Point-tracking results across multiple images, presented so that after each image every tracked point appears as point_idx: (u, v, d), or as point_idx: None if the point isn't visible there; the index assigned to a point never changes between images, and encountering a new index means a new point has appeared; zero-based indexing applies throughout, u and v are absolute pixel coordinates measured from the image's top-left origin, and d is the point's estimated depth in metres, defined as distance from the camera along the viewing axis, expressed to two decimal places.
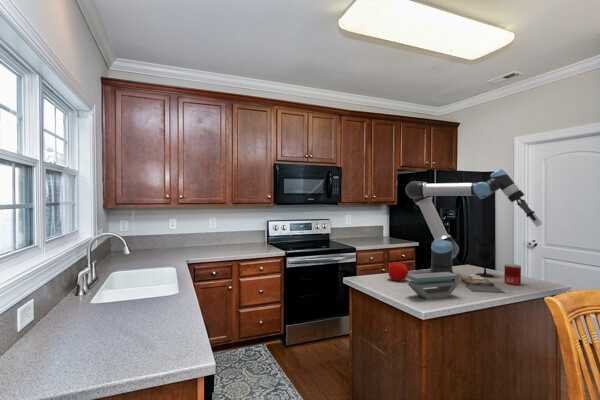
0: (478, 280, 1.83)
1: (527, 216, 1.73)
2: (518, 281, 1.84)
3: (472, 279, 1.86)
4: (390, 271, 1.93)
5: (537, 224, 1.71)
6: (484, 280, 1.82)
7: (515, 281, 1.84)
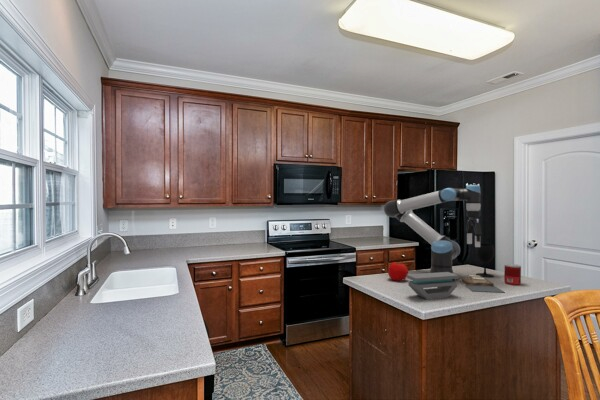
0: (478, 280, 1.83)
1: (475, 235, 1.88)
2: (518, 281, 1.84)
3: (472, 279, 1.86)
4: (390, 271, 1.93)
5: (477, 245, 1.89)
6: (484, 280, 1.82)
7: (515, 281, 1.84)
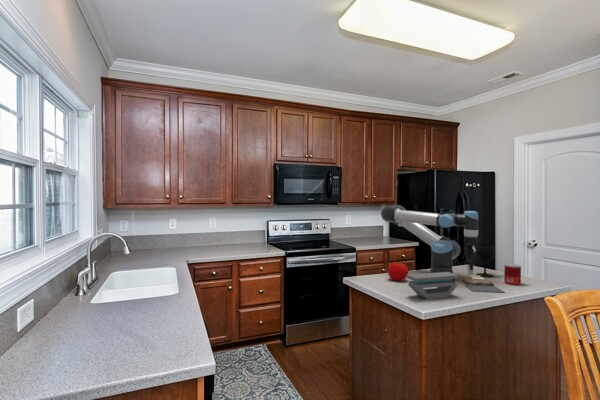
0: (478, 280, 1.83)
1: (468, 264, 1.95)
2: (518, 281, 1.84)
3: (472, 279, 1.86)
4: (390, 271, 1.93)
5: (470, 273, 1.96)
6: (484, 280, 1.82)
7: (515, 281, 1.84)
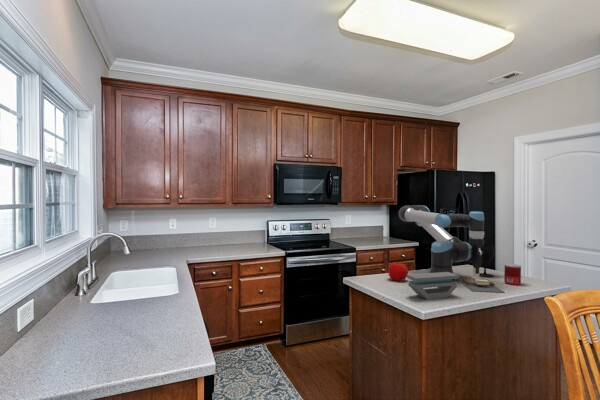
0: (481, 282, 1.78)
1: (474, 267, 1.87)
2: (518, 281, 1.84)
3: (475, 281, 1.81)
4: (390, 271, 1.93)
5: None
6: (488, 282, 1.78)
7: (515, 281, 1.84)
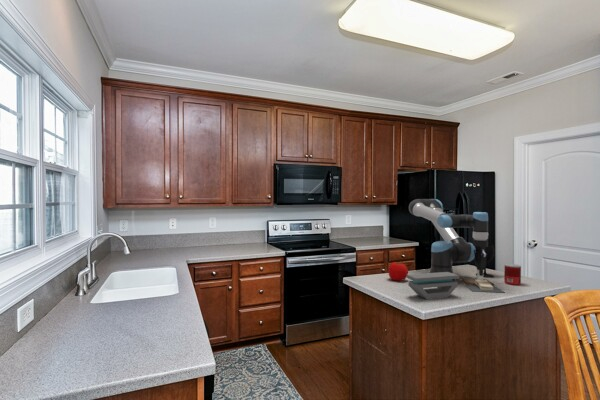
0: (485, 288, 1.73)
1: (478, 269, 1.81)
2: (518, 281, 1.84)
3: (479, 286, 1.76)
4: (390, 271, 1.93)
5: (479, 279, 1.82)
6: (492, 288, 1.72)
7: (515, 281, 1.84)
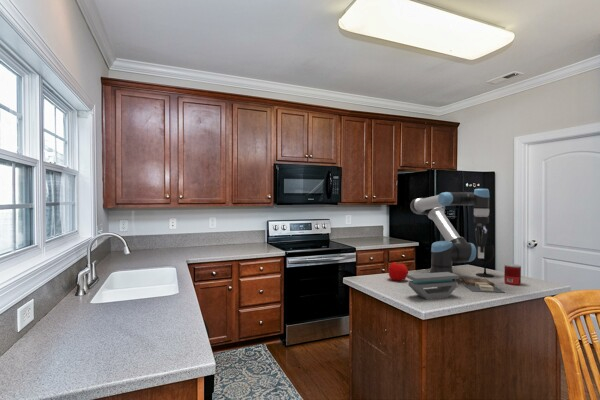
0: (486, 288, 1.73)
1: (478, 246, 1.80)
2: (518, 281, 1.84)
3: (479, 287, 1.75)
4: (390, 271, 1.93)
5: (480, 256, 1.81)
6: (492, 288, 1.72)
7: (515, 281, 1.84)
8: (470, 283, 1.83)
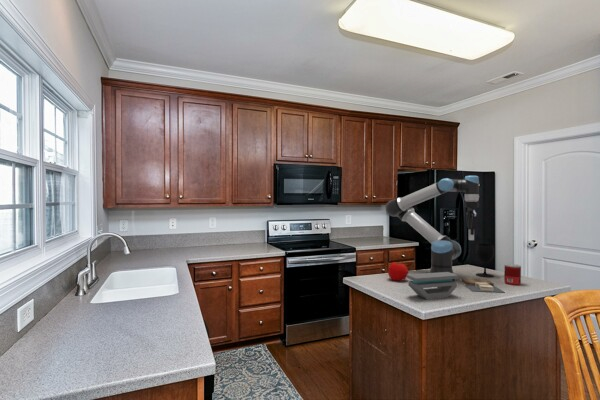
0: (486, 288, 1.73)
1: (469, 229, 1.95)
2: (518, 281, 1.84)
3: (479, 287, 1.75)
4: (390, 271, 1.93)
5: (471, 238, 1.95)
6: (492, 288, 1.72)
7: (515, 281, 1.84)
8: (470, 283, 1.83)
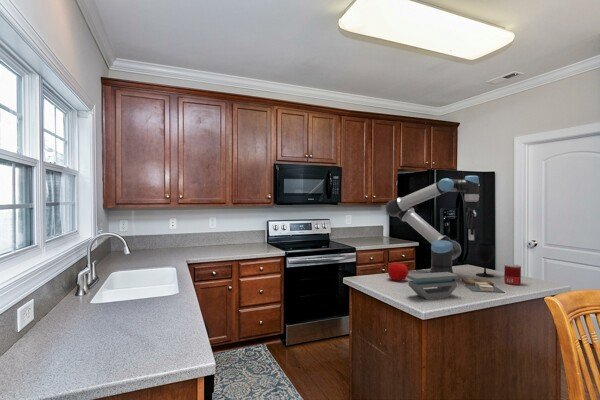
0: (486, 288, 1.73)
1: (469, 229, 1.95)
2: (518, 281, 1.84)
3: (479, 287, 1.75)
4: (390, 271, 1.93)
5: (471, 238, 1.95)
6: (492, 288, 1.72)
7: (515, 281, 1.84)
8: (470, 283, 1.83)
